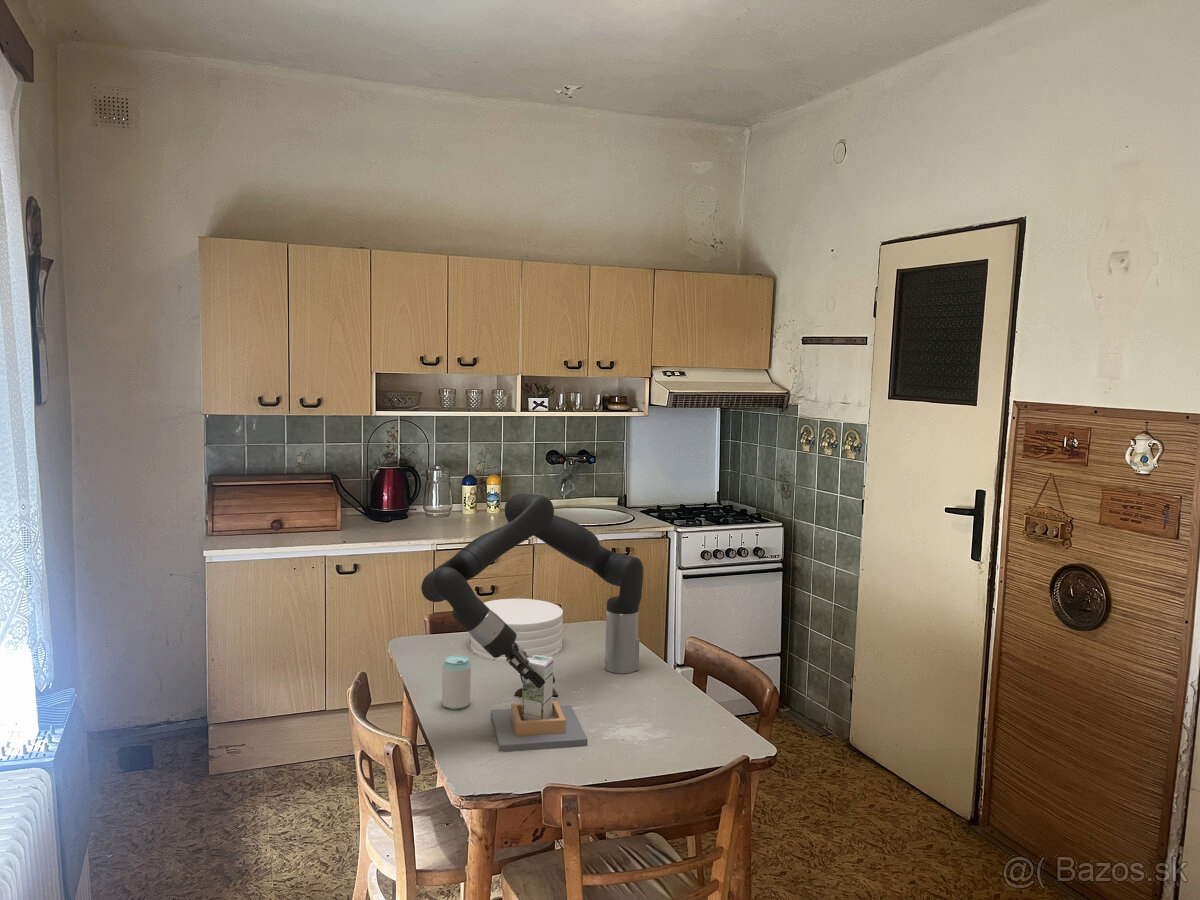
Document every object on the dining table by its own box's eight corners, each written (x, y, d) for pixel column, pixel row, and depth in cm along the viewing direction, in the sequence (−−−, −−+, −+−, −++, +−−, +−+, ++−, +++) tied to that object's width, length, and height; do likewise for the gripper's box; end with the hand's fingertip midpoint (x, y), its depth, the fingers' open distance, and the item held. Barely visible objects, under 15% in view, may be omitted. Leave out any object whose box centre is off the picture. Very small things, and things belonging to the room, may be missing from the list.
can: (474, 701, 216) (475, 655, 215) (464, 712, 209) (465, 665, 208) (448, 698, 217) (449, 653, 216) (437, 708, 210) (438, 662, 209)
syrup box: (552, 715, 201) (554, 656, 200) (543, 725, 196) (544, 664, 194) (530, 711, 203) (532, 653, 202) (520, 720, 198) (522, 660, 196)
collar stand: (570, 710, 212) (571, 693, 211) (587, 745, 192) (587, 726, 192) (490, 715, 207) (491, 698, 207) (499, 751, 188) (499, 732, 187)
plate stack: (484, 630, 276) (485, 596, 275) (569, 636, 272) (570, 601, 271) (458, 658, 248) (459, 620, 247) (552, 665, 244) (553, 627, 243)
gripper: (507, 630, 188) (556, 678, 192) (500, 612, 202) (546, 657, 206) (482, 654, 188) (532, 702, 191) (477, 634, 202) (524, 679, 205)
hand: (539, 678), depth 199 cm, fingers closed on syrup box, 8 cm apart
